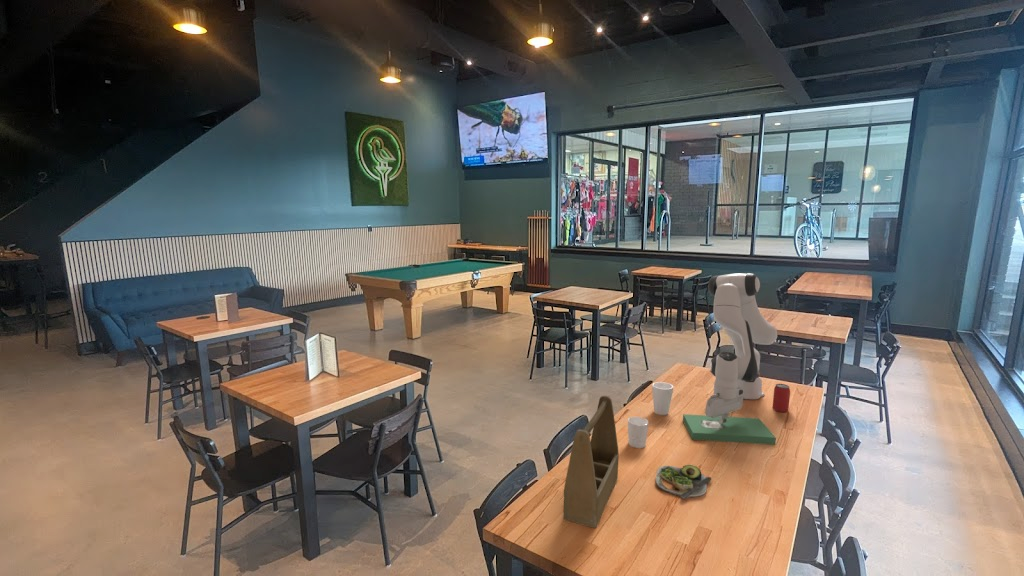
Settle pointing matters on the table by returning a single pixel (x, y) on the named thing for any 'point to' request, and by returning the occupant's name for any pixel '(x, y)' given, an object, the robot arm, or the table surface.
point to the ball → (713, 424)
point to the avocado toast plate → (683, 480)
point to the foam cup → (662, 397)
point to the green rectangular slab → (728, 429)
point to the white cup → (637, 431)
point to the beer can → (781, 398)
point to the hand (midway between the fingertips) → (722, 422)
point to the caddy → (592, 468)
